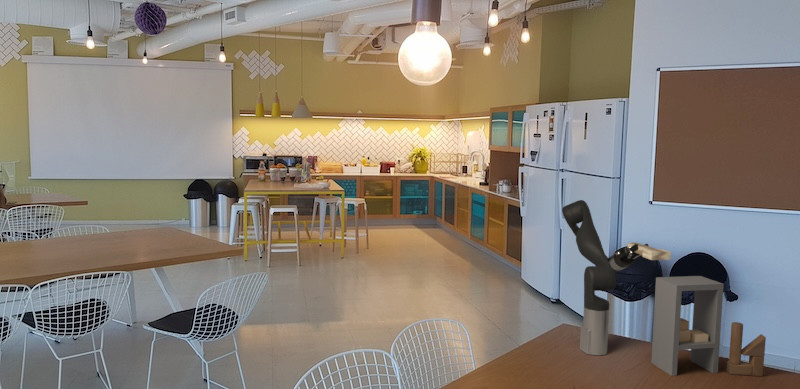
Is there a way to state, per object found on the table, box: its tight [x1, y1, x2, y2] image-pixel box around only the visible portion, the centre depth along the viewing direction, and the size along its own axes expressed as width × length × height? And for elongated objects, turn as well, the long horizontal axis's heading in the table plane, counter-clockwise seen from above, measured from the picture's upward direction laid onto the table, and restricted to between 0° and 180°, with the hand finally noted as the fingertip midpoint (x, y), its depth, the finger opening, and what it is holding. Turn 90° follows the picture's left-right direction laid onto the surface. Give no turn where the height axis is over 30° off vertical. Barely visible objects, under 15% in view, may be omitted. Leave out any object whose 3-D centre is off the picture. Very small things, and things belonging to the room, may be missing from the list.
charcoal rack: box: [650, 275, 725, 377], centre depth 214 cm, size 18×12×32 cm, turn 100°
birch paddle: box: [627, 242, 672, 261], centre depth 238 cm, size 8×20×3 cm, turn 10°
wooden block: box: [726, 321, 767, 377], centre depth 210 cm, size 4×11×18 cm, turn 82°
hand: (642, 246), depth 240 cm, fingers closed on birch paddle, 4 cm apart
